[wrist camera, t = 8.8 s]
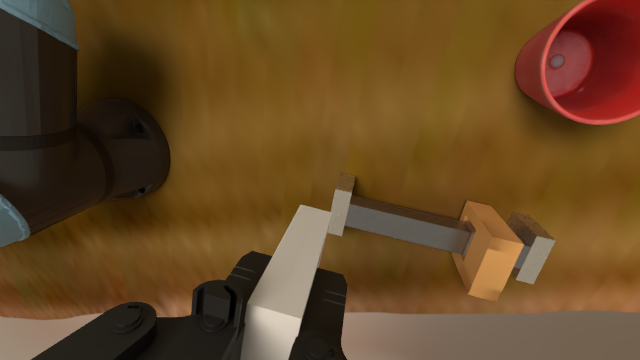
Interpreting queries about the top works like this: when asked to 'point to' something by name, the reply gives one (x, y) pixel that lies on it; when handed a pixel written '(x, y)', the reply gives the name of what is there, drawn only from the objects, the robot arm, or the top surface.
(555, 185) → the top surface
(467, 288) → the collar
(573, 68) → the flower pot
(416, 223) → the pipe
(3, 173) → the robot arm
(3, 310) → the top surface
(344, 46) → the top surface
